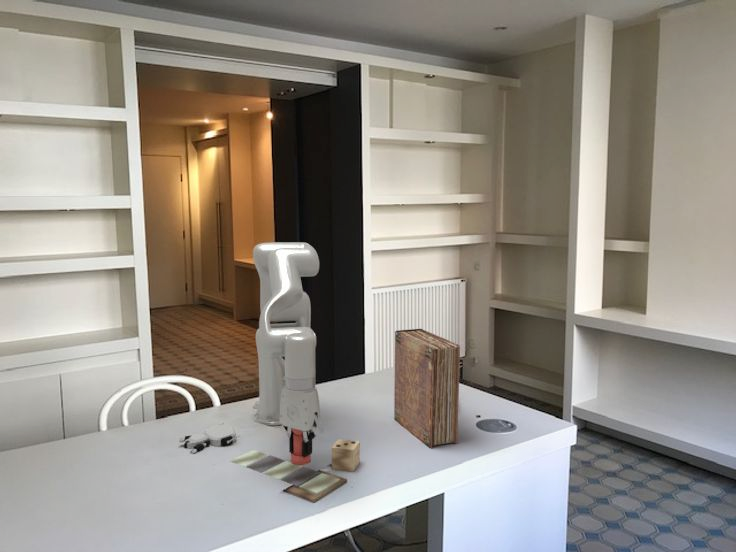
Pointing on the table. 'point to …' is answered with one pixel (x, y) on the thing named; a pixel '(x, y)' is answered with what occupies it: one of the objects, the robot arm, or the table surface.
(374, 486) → the table surface
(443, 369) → the book
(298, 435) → the pawn
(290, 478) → the board
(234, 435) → the robot toy
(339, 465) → the die
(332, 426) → the table surface
